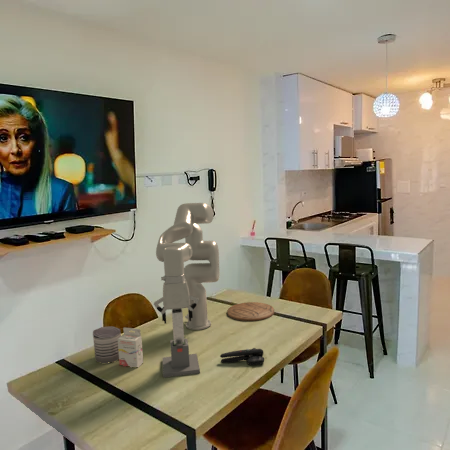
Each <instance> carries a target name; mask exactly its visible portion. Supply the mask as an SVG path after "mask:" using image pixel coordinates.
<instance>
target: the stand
mask: <svg viewBox="0 0 450 450" xmlns="http://www.w3.org/2000/svg"><path fill="white" fill-rule="evenodd" d="M184 341H185V345H183V343H179V344H176V346H174V340H173V339H170V354H171V356H162V378H163V377H164V378H170V377H171V376H172V377H178V376H179V377H180V376H187V375H188V376H189V375H196V374H201V368H200V364H199V360H198V354H197V353H191V354H190V351H189V341H188V338H184ZM172 377H171V378H172Z"/></svg>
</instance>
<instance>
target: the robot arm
mask: <svg viewBox="0 0 450 450" xmlns="http://www.w3.org/2000/svg"><path fill="white" fill-rule="evenodd" d="M214 216H215V215H214V210H213V207H212V206H211V205H210V204H208V203H205V202H189V203H188V202H187V203H186V202H185V203H181V204H180V205H179V206H178V207H177V209H176V213H175V218H174V221H173V225H171V226H170V227H168V228H167V229H166V230H165V231H163V232H162V234H161V235H160V236H159V238H158V242H157V244H156V249H155V255H156V258H157V261H159V262H163V269H164V275H163V276H161V278H160V279H161V280H160V281H164V282H163V285H162V286H163V287H162V297H160V298H159V299H157V300H155V301H154V302H153V305H154V307H155V308H156V310H157V311H158V312H159V313H161V318H162V319H161V320H162V322H164V324H167V314H166V313H167V310H168V311H169V310H172V309H180V308H181V309H186V308H187V314H186V315H185V316H184V318H185V319H186V320H187V322H186V323H185V327H186V328H187V329H188V330H193V331H200V330H205V329H208V328H210V326H211V325H212V321H211V320H210V319H208V318H209V317H208V316H209V315H208V302H207V299H208V298H207V289H206V288H205V286H204V285H203V283H204V284H205V283H206V284H207V283H216V282H218V281H219V280H220V276H221V275H220V274H221V273H220V256H219V255H220V253H219V246H218V243H217V242H216V241H214V240H204V235H203V230H202V228H201V226H200V224H201V225H202V224H206V225H207V224H211V223H212V222H213V219H214ZM183 239H185V242H177V241H180V240H183ZM188 261H208V262H194V263H193V262H192V263H188V264H186V265H185V264H184V263H185V262H188ZM161 303H162V305H163V307H161V306H160V304H161Z"/></svg>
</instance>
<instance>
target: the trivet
mask: <svg viewBox="0 0 450 450" xmlns="http://www.w3.org/2000/svg"><path fill="white" fill-rule="evenodd" d="M274 314H275V308H274V307H273V306H272V305H270V304H267V303H264V302H257V301H254V302H253V301H251V302H250V301H249V302H240V303H236V304H234V305H231V306H230V307H228V308H227V317H229V318H230V319H233V320H236V321H240V322H241V321H242V322H258V321H262V320H268V319H270V318H272V317H273V316H274Z"/></svg>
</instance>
